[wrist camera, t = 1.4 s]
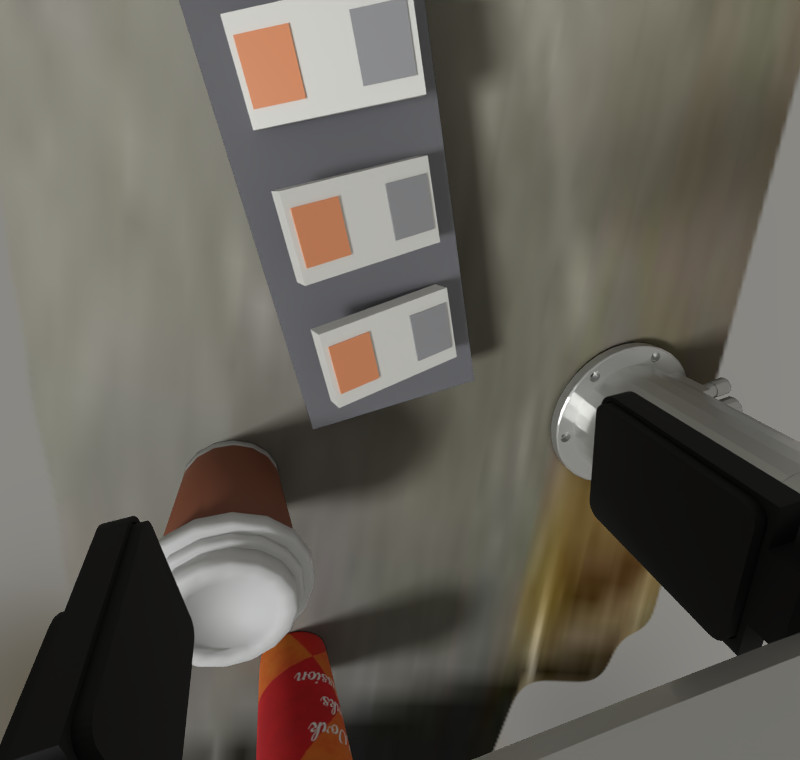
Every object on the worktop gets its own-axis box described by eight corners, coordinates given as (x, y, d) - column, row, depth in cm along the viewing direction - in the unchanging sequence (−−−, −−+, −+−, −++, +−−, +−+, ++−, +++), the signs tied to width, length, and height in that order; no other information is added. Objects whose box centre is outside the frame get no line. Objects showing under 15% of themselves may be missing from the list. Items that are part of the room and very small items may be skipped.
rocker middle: (415, 156, 26) (428, 155, 25) (428, 240, 28) (441, 242, 27) (271, 191, 23) (279, 191, 22) (297, 281, 25) (305, 286, 24)
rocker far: (435, 284, 29) (447, 287, 28) (445, 351, 31) (457, 357, 30) (310, 329, 26) (319, 335, 25) (330, 400, 28) (339, 408, 27)
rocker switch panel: (392, -59, 26) (419, -96, 22) (454, 361, 36) (479, 385, 33) (172, -27, 24) (159, -62, 20) (307, 405, 35) (315, 436, 31)
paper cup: (346, 663, 46) (384, 848, 34) (265, 697, 45) (273, 902, 33) (322, 607, 42) (354, 792, 30) (233, 643, 41) (228, 850, 29)
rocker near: (407, -21, 21) (409, -29, 20) (424, 95, 23) (426, 94, 22) (227, 19, 22) (219, 13, 21) (258, 130, 24) (252, 130, 23)
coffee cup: (162, 535, 36) (128, 696, 25) (159, 421, 32) (119, 552, 22) (292, 528, 38) (311, 670, 28) (303, 423, 35) (328, 539, 25)
